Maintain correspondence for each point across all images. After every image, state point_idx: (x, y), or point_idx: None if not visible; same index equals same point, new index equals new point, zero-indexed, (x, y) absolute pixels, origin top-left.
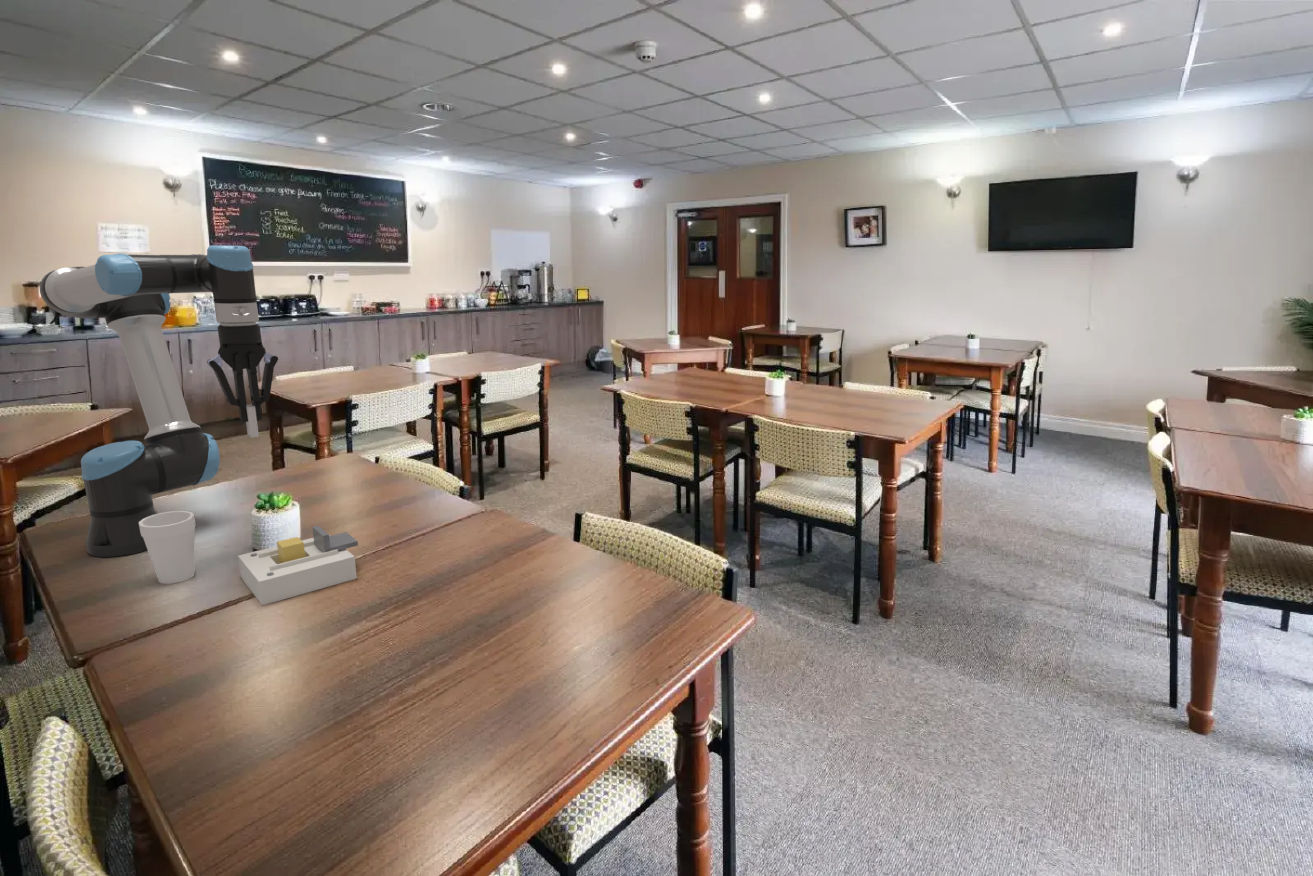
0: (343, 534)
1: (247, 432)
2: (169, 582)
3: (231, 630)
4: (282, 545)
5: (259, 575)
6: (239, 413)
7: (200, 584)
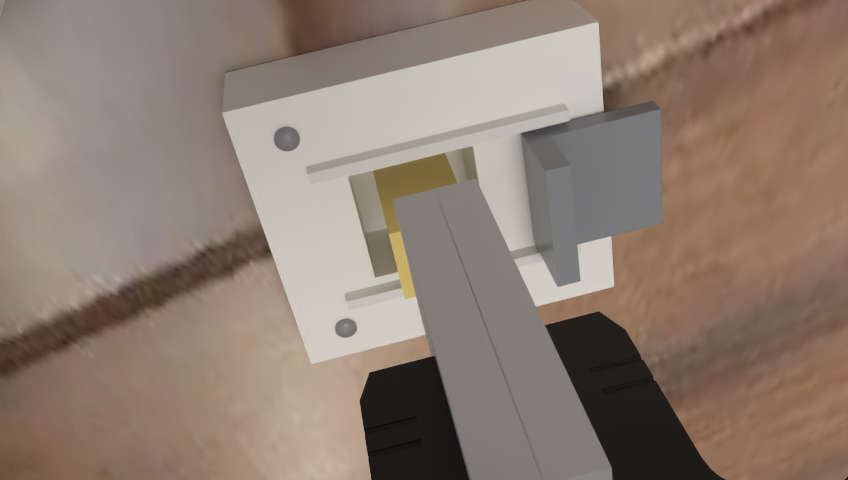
0: (642, 132)
1: (399, 224)
2: None
3: (234, 409)
4: (406, 279)
5: (312, 321)
6: (372, 478)
7: (74, 68)
